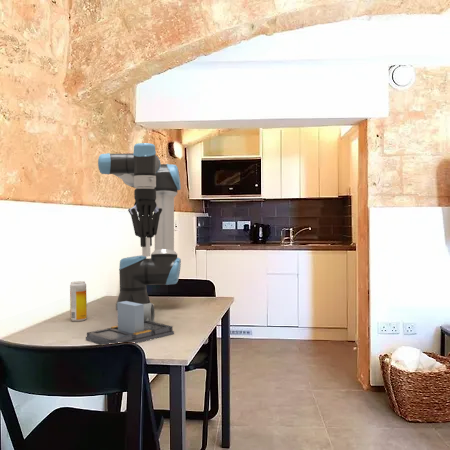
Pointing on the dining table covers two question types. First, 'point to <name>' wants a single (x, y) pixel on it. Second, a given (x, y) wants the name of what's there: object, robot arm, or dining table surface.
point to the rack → (129, 334)
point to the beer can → (78, 301)
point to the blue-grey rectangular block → (130, 316)
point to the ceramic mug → (149, 312)
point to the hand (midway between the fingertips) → (146, 256)
